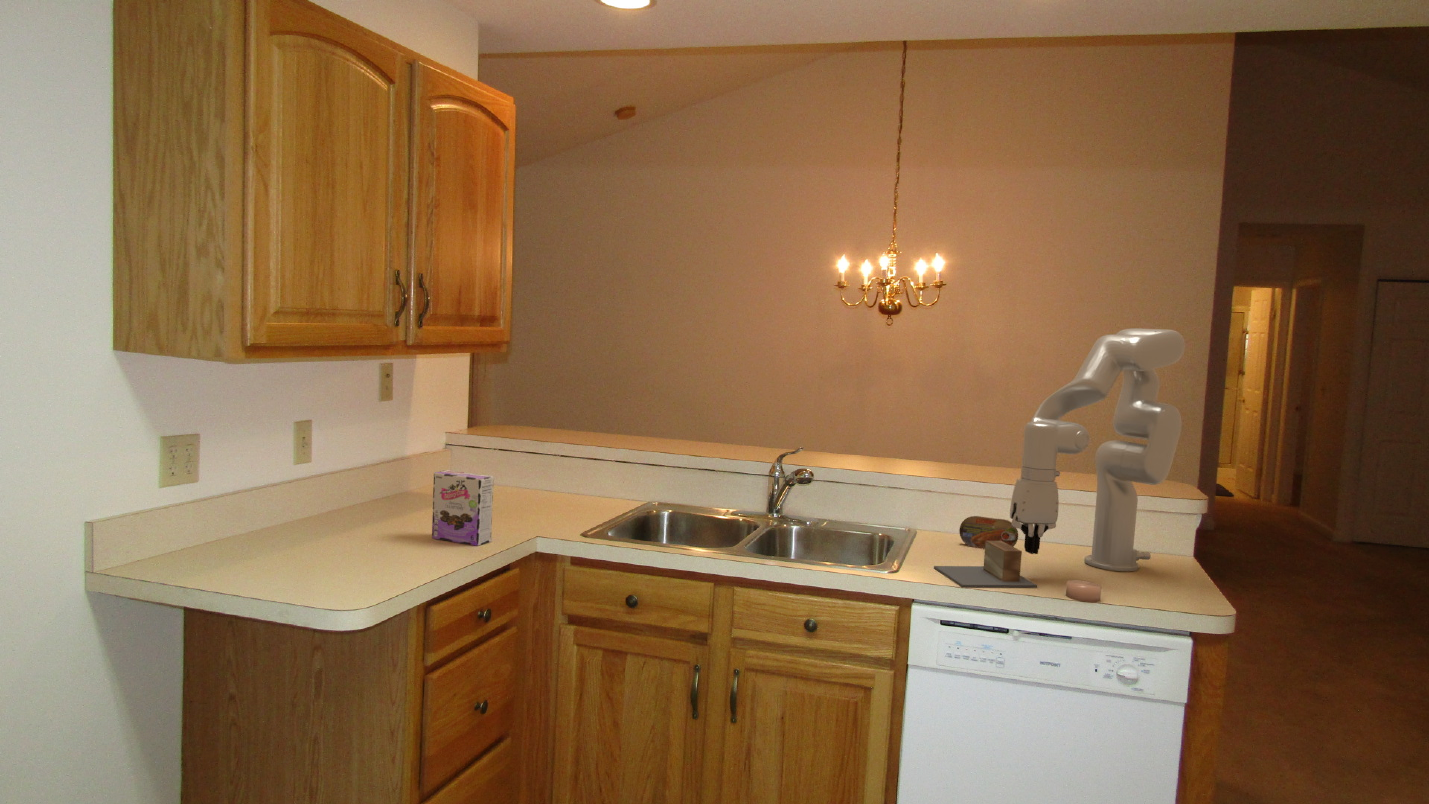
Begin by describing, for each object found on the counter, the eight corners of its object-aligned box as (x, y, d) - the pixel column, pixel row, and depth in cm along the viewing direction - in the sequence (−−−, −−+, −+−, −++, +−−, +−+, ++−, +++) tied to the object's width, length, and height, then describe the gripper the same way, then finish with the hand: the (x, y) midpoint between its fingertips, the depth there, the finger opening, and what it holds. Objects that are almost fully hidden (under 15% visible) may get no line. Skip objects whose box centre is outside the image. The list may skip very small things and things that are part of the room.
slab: (999, 569, 221) (1001, 540, 221) (1019, 581, 211) (1021, 551, 211) (982, 569, 221) (985, 540, 220) (1002, 581, 211) (1005, 551, 210)
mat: (1003, 568, 225) (1004, 566, 225) (1037, 587, 209) (1037, 585, 209) (933, 568, 222) (933, 565, 222) (962, 587, 206) (962, 584, 206)
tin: (957, 545, 248) (960, 514, 248) (960, 542, 251) (962, 512, 251) (1015, 554, 242) (1018, 522, 241) (1018, 551, 244) (1020, 520, 244)
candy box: (430, 538, 225) (432, 471, 224) (446, 534, 231) (447, 468, 230) (477, 546, 220) (479, 478, 219) (492, 541, 226) (494, 475, 224)
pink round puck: (1089, 593, 207) (1090, 580, 207) (1106, 603, 200) (1107, 589, 200) (1059, 592, 206) (1061, 579, 206) (1076, 602, 199) (1077, 588, 199)
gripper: (1058, 473, 220) (1052, 549, 222) (1000, 471, 218) (994, 548, 219) (1076, 478, 213) (1069, 557, 214) (1015, 476, 210) (1009, 556, 212)
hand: (1031, 552), depth 217 cm, fingers closed
